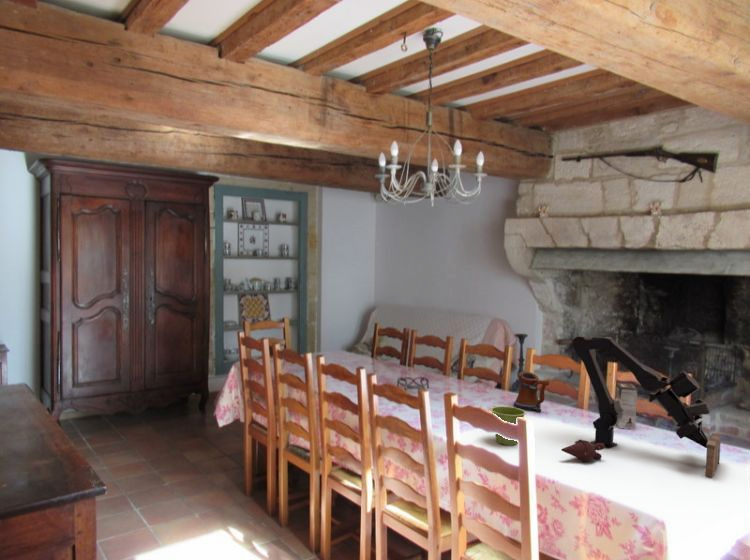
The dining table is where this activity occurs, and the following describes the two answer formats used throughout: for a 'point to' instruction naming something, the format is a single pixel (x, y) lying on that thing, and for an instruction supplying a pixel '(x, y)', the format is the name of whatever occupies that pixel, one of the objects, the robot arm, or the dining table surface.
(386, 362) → the dining table surface
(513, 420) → the plant pot
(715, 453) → the brown flat wooden slab
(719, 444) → the gate post
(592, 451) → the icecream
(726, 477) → the dining table surface
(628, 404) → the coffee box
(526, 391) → the mug
